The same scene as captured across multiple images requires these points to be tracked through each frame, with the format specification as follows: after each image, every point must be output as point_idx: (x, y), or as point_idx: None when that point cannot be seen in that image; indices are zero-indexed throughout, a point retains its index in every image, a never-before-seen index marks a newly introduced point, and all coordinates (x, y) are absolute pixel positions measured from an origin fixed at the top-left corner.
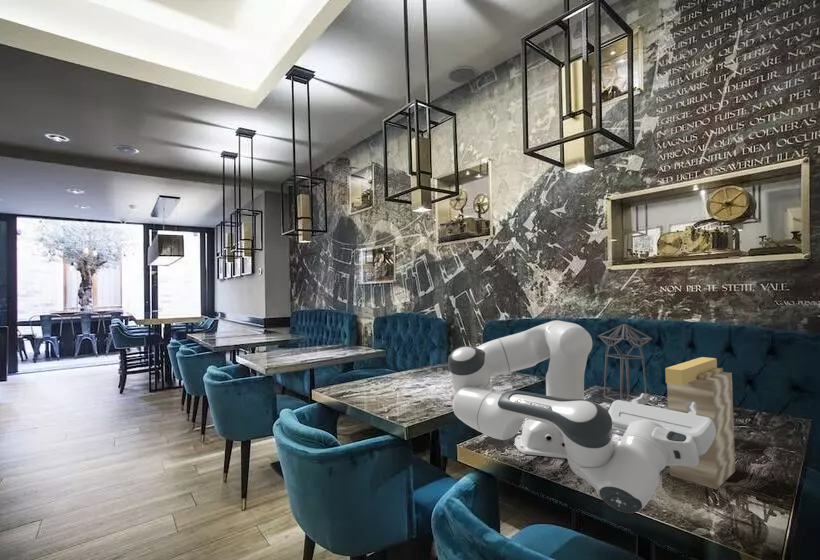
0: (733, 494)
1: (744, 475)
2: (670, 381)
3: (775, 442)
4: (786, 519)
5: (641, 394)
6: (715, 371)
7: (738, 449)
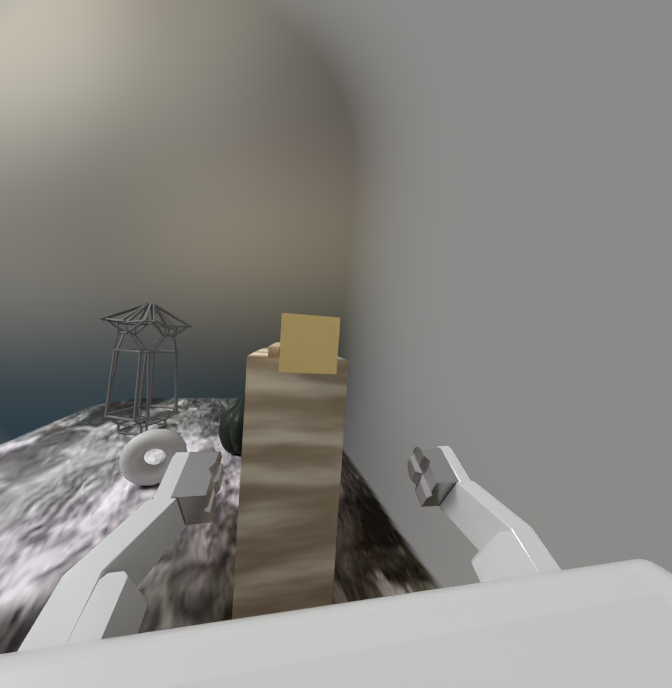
0: (360, 597)
1: None
2: (296, 364)
3: None
4: None
5: (170, 467)
6: None
7: None
